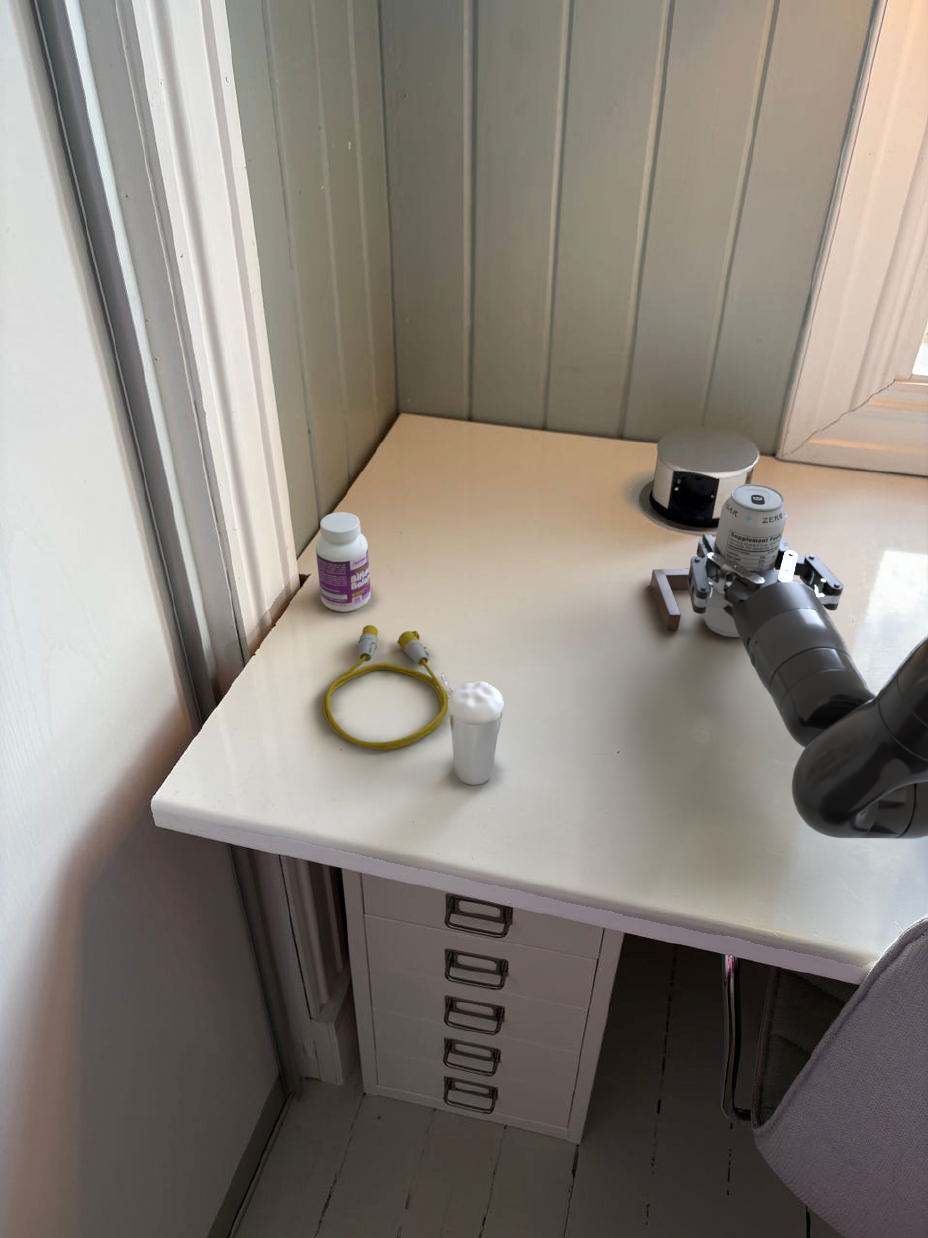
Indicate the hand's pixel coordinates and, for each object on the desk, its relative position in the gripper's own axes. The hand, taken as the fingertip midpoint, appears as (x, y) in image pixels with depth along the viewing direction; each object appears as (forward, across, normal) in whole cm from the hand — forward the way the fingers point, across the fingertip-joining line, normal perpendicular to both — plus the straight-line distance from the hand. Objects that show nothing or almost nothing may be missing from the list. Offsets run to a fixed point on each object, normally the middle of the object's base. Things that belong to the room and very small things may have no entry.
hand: (737, 541), depth 93 cm
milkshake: (-22, +28, +9) cm, 37 cm away
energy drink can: (-2, 0, +9) cm, 9 cm away
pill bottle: (+4, +40, +9) cm, 41 cm away
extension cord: (-11, +35, +9) cm, 38 cm away
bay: (+1, 0, +9) cm, 9 cm away
